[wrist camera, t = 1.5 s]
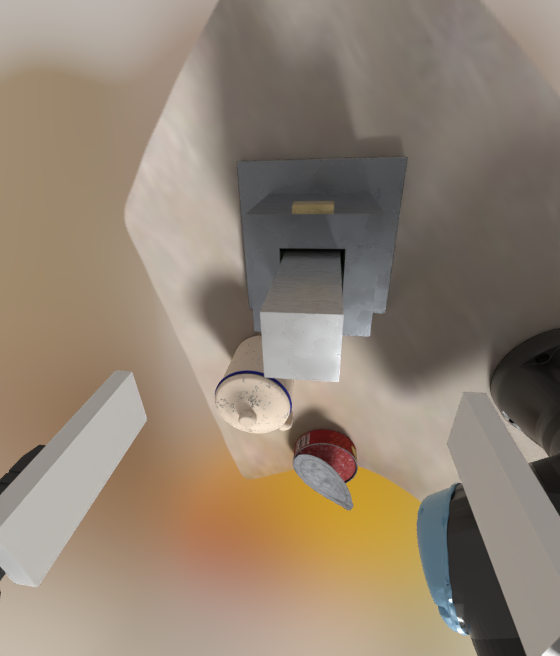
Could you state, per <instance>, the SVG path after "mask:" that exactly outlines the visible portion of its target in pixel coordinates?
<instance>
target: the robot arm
mask: <svg viewBox="0 0 560 656" xmlns="http://www.w3.org/2000/svg"><path fill="white" fill-rule="evenodd" d="M491 394H492V398H493V400H494V402H495V404H496V406H497V407H498V409H499V410H500V412H501V414H502V415H503V416H504V418H505V419H506V420H507V421H508V422H509V423H510V424H511V425H513V426H514V427H516V428H517V429H519V430H521V431H522V432H523V433H524V434H525V435H526V436H528V437H529V438H530V439H531V440H532V441H534V442H535V443H536V444H538V445H539V446H540V447H542V448H543V449H544V450H545V452H546V453H547V455H548V456H549V457H547V458H544V459H541V460H538V461H535V462H531V463H527V461H526V459H525V458H524V456H523V454H522V453H521V451H520V449H519V448H518V446H517V445H516V443H515V441H514V440H513V438H512V436H511V435H510V433H509V431H508V430H507V428H506V426H505V425H504V423H503V421H502V420H501V418H500V416H499V415H498V413H497V411H496V410H495V408H494V406H493V405H492V403H491V401H490V400H489V398H488V396H487V395H486V393H474V392H463V395H462V398H461V401H460V404H459V407H458V410H457V414H456V417H455V420H454V423H453V426H452V429H451V432H450V436H449V439H448V442H447V445H448V448H449V450H450V453H451V456H452V458H453V461H454V464H455V466H456V469H457V472H458V474H459V477H460V480H461V482H462V484H461V483H455V484H453V485H452V486H451V487H450V488H447V489H445V490H442V491H439V492H437V493H434V494H431V495H429V496H428V497H426V498H425V499H424V500H423V501H422V503H421V505H420V508H419V511H418V519H417V538H418V547H419V553H420V558H421V563H422V566H423V571H424V575H425V578H426V581H427V585H428V587H429V590H430V593H431V596H432V598H433V600H434V602H435V604H436V605H438V608H439V613H440V615H441V617H442V618H443V620H444V621H445V623H446V624H447V625H448V627H450V628H451V629H452V630H453V631H455V632H459V633H461V634H462V635H470V637H471V639H472V642H473V645H474V647H475V650H476V652H477V655H478V656H560V329H555V330H552V331H548V332H545V333H542V334H540V335H537V336H535V337H533V338H531V339H529V340H527V341H525V342H524V343H522V344H520V345H519V346H518V347H516V348H515V349H514V350H512V351H511V352H510V353H509V354H508V355H507V356H506V357H505V358H504V359H503V360H502V361H501V363H500V364H499V365H498V367H497V369H496V370H495V372H494V375H493V378H492V382H491ZM146 420H147V417H146V414H145V411H144V408H143V404H142V401H141V398H140V395H139V392H138V389H137V386H136V382H135V379H134V376H133V373H132V372H129V371H115V372H114V373H113V374H112V375H111V376H110V377H109V378H108V379H107V380H106V381H105V382H104V383H103V384H102V386H101V387H100V388H99V389H98V390H97V391H96V392H95V393H94V394H93V395H92V396H91V397H90V398H89V400H88V401H87V402H86V403H85V404H84V405H83V406H82V407H81V408H80V409H79V410H78V411H77V413H76V414H75V415H74V416H73V417H72V418H71V419H70V420H69V421H68V422H67V423H66V424H65V426H64V427H63V428H62V429H61V430H60V431H59V432H58V433H57V434H56V435H55V436H54V437H53V439H52V440H51V441H50V442H49V443H48V444H47V445H38V446H37V447H36V448H34V449H33V450H31V451H30V452H28V453H27V454H25V455H24V456H23V457H22V458H21V459H20V460H19V461H18V462H17V463H16V464H15V465H14V466H13V467H12V468H11V469H10V470H9V473H6V474H5V475H4V476H3V477H2V478H1V479H0V580H1V579H2V578H3V576H4V575H5V574H6V575H7V576H8V577H9V578H10V579H11V580H12V581H13V582H14V583H15V584H21V585H27V586H33V587H38V586H39V584H40V583H41V581H42V580H43V578H44V577H45V575H46V574H47V572H48V571H49V569H50V568H51V566H52V565H53V563H54V562H55V560H56V559H57V557H58V555H59V554H60V552H61V551H62V549H63V548H64V546H65V545H66V543H67V542H68V540H69V539H70V537H71V535H72V534H73V532H74V531H75V529H76V528H77V526H78V525H79V523H80V522H81V520H82V519H83V517H84V516H85V514H86V513H87V511H88V509H89V508H90V506H91V505H92V503H93V502H94V500H95V499H96V497H97V496H98V494H99V493H100V491H101V489H102V488H103V486H104V485H105V483H106V482H107V480H108V479H109V477H110V476H111V474H112V473H113V471H114V470H115V468H116V467H117V465H118V463H119V462H120V460H121V459H122V457H123V456H124V454H125V453H126V451H127V450H128V448H129V447H130V445H131V444H132V442H133V440H134V439H135V437H136V435H137V434H138V433H139V431H140V429H141V428H142V427H143V425H144V424H145V422H146ZM0 594H1V592H0Z"/></svg>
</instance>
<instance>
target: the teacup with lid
mask: <svg viewBox="0 0 560 656" xmlns="http://www.w3.org/2000/svg"><path fill="white" fill-rule="evenodd" d="M293 383H294V379H281V378H265V377H264V364H263V349H262V335H258V336H253V337H250V338H248V339H246V340H244V341H243V342H242V343H241V344H240V345H239V346H238V348H237V349H236V352H235V354H234V356H233V358H232V360H231V362H230V365H229V367H228V369H227V371H226V373H225V375H224V378H223V379H222V380H221V381H220V383H219V384H218V386H217V388H216V391H215V403H216V407H217V409H218V412H219V413H220V415H221V416H222V417H223V419H224V420H225V421H227V422H228V423H229V424H230V425H232V426H233V427H235V428H237V429H239V430H242V431H245V432H250V433H266V432H270V431H273V430H275V429H277V428H279V429H280V430H288V429H290V428H291V426H292V424H293V413H292V402H291V396H292V390H293Z"/></svg>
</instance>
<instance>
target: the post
mask: <svg viewBox="0 0 560 656" xmlns="http://www.w3.org/2000/svg"><path fill="white" fill-rule="evenodd" d="M343 317H344V312H343V295H342V278H341V262H340V249H313V248H287V249H286V252H285V254H284V256H283V259H282V261H281V263H280V266H279V268H278V270H277V273H276V275H275V277H274V280H273V282H272V285H271V287H270V289H269V292H268V294H267V296H266V299H265V301H264V303H263V306H262V308H261V311H260V320H261V335H262V349H263V364H264V377H265V378H281V379H297V380H313V381H329V382H339V373H340V359H341V345H342V331H343Z"/></svg>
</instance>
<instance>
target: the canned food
mask: <svg viewBox="0 0 560 656" xmlns="http://www.w3.org/2000/svg"><path fill="white" fill-rule="evenodd" d="M293 467H294V469H295V471H296V473H297V474H298V475H299V476H300V478H302V480H303V481H304V482H305V483H306V484H307V485H309V486H310V487H311V488H312V489H314V490H315V491H316V492H318V493H320V494H322V495H323V496H324V497H326V498H327V499H330V500H332V501H333V502H335V503H337V504H338V505H341V506H343V507H344V508H345V509H347V510H351V509H352V507H353V503H352V499H351V495H350V492H349V490H348V488H347V486H346V484H345V483H347V482H349V481H350V480H351V479H352V478H354V476H355V475H356V473H357V456H356V448H355V445H354V444H353V442H352V441H351V440H350V439H349V438H348V437H346V436H345V435H343V434H341V433H339V432H336V431H333V430H325V429H319V430H313V431H309V432H307V433H305V434H303V435H302V436H301V437H300V438H299V439H298V440H297V442H296V444H295V450H294V458H293Z"/></svg>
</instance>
